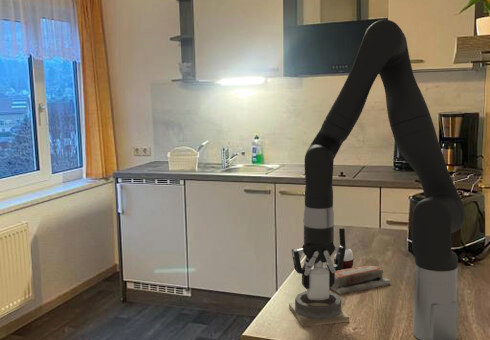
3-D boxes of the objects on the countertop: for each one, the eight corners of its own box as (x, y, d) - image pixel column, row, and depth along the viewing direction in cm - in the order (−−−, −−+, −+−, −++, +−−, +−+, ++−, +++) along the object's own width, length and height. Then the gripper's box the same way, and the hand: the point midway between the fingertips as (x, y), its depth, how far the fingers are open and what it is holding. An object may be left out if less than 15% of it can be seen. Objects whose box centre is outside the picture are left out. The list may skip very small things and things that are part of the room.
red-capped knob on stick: (350, 275, 167) (351, 238, 164) (330, 272, 169) (331, 236, 167) (356, 264, 175) (358, 230, 173) (337, 261, 178) (338, 227, 175)
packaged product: (339, 279, 150) (320, 268, 159) (339, 295, 151) (320, 284, 160) (391, 269, 157) (370, 260, 166) (390, 285, 158) (370, 275, 167)
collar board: (349, 321, 133) (349, 305, 133) (303, 326, 131) (303, 310, 130) (331, 302, 145) (331, 288, 144) (289, 307, 142) (289, 292, 142)
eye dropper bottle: (326, 302, 134) (326, 257, 132) (304, 299, 137) (305, 254, 135) (331, 296, 138) (331, 252, 136) (310, 293, 141) (310, 249, 139)
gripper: (295, 229, 129) (295, 295, 132) (351, 225, 132) (350, 289, 135) (287, 221, 137) (287, 284, 139) (340, 217, 139) (339, 279, 142)
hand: (318, 286), depth 137 cm, fingers closed on eye dropper bottle, 5 cm apart
